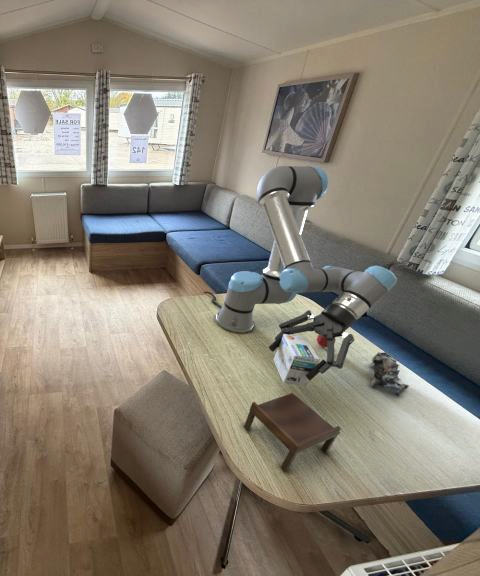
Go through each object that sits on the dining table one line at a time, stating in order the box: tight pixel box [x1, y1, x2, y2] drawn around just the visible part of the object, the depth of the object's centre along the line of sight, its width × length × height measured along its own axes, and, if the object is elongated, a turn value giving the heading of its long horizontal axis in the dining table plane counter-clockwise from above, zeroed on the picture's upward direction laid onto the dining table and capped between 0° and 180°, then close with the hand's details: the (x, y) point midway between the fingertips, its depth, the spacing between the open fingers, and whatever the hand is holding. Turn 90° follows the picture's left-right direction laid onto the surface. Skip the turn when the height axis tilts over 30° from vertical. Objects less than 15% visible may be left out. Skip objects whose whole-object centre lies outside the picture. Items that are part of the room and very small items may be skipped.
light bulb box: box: [273, 334, 321, 388], centre depth 92 cm, size 11×7×11 cm, turn 168°
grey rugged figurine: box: [370, 351, 410, 397], centre depth 105 cm, size 12×11×15 cm
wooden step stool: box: [243, 392, 342, 473], centre depth 83 cm, size 14×16×10 cm
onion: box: [316, 334, 327, 348], centre depth 120 cm, size 6×6×8 cm
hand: (288, 363), depth 92 cm, fingers closed on light bulb box, 12 cm apart
